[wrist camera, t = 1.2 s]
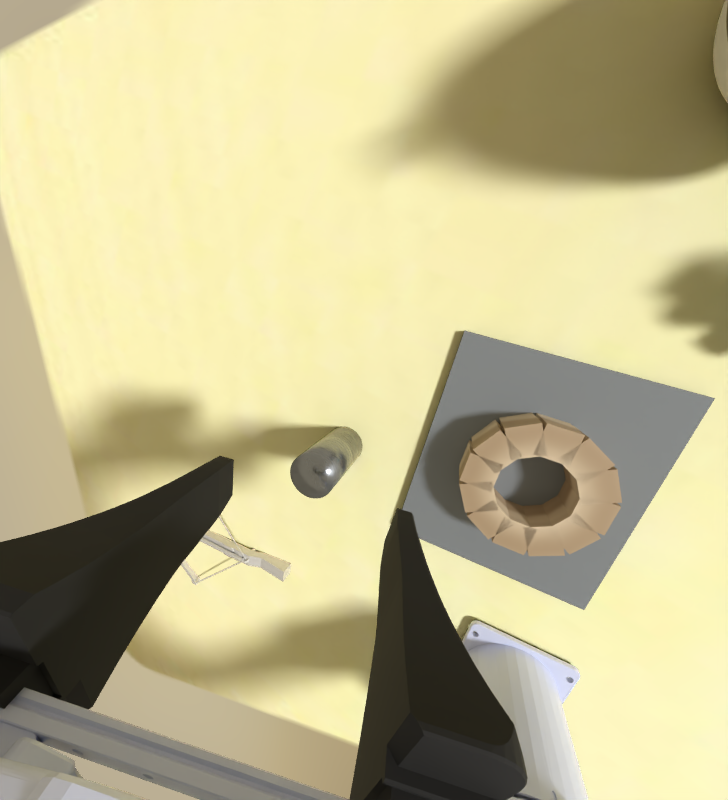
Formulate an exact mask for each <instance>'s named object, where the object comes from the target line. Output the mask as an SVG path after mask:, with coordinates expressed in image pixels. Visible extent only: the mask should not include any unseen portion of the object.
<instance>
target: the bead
mask: <svg viewBox="0 0 728 800" xmlns="http://www.w3.org/2000/svg"><path fill="white" fill-rule="evenodd" d="M499 420H500V424H499V423H498V422H497V421H496V420H494V421H492V422H491V423H490V424H488V425H487V426H486V427H484V428H483V429H482V430H480V431H479V432H478V433H476V434H475V435H474V436H472V437H471V438H472V441H470V440H469V442H468V444H467V447H466V449H465V452H464V454H463V457H462V459H461V462H460V464H459V486H460V490H461V495H462V500H463V504H464V509H465V513H467V517H468V518H469V519H470V520H471V521H472V522H473V523H474V524H475V525H476V526H477V528H478V529H479V530H480V531H481V532H482V533H483V534H484V535H485V536H486V537H487V539H490V538H491V539H492V542H493V543H495V544H498V545H500V546H503V547H505V548H507V549H510V550H512V551H515V552H517V553H520V554H522V555H524V554H525V553H526V551H527V552H528V556H565V553H564V549H565V550H566V551H567V552H568V553H569V554H572V553H574V552H576V551H578V550H580V549H582V548H584V547H585V546H587V545H589V544H591V543H593V542H595V541H597V540H599V539H601V538H600V536H599V535H598V533H599V534H602V535H605V534H606V532H607V530H608V529H609V527H610V525H611V524H612V522H613V520H614V518H615V517H616V515H617V513H618V512H619V510H620V508H621V506H620V505H619V504H618V503H622V498H621V491H620V484H619V477H618V469H616V468H615V467H614V466H615V464H614V463H613V462H612V461H611V460H610V459H609V458H608V457H607V456H606V455H605V454H604V453H603V452H602V451H601V450H600V448H599V447H598V446H597V445H596V444H595V443H594V442H593V441H592V440H591V439H590V438H589V437H588V436H586V435H585V434H584V433H582V432H581V431H580V430H579V429H577V428H576V427H575V426H573V425H571V424H570V423H567V422H564V421H561V420H558V419H555V418H551V417H548V416H545V415H542V414H539V413H536V416H535V415H534V414H533V413H526V414H520V415H513V416H507V417H501V418H499ZM531 457H543V458H546V459H549V460H552V461H555V462H558V463H560V464H562V465H563V467H564V473H565V479H566V480H565V482H564V484H563V486H562V488H561V490H560V492H559V494H558V495H557V496H556V497H554V498H552V499H550V500H549V501H547V502H545V503H544V504H542V505H529V506H521V505H518V504H516V503H513V502H511V501H508V500H505V499H504V498H503V497H502V496H501V495H500V494H499V493H498V491H497V490H496V489H495V488H494V485H495V482H496V480H497V478H498V475H499V473H500V471H501V470H502V469H504V468H505V467H507V466H508V465H509V464H511V463H512V462H514V461H515V460H517V459H522V458H531Z"/></svg>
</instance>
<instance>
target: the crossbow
mask: <svg viewBox="0 0 728 800" xmlns="http://www.w3.org/2000/svg"><path fill="white" fill-rule="evenodd" d="M219 518H220V520H221V521H222V519H221V517H220V516H219ZM222 523H223V525H224V526H225V528H226V529H227V527H226V525H225V524H224V522H223V521H222ZM227 531H228V533H229V534H230V532H229V530H228V529H227ZM230 536H231V538H232V539H233V541H232V540H230V539H228V538H226V537H224V536H222V535H220V534H217V533H215V532H212V531H210V530H208V531H207V532H206V534H205V535H204V536H203V537H202V539H201V540H200V541H201V542H203V543H205V544H207V545H209V546H211V547H213V548H215V549H217V550H219V551H221V552H223V553H224V554H225V555H227V556H229V557H231V558H232V557H233V558H235V560H237V561H240V562H238V563H236V564H234V565H232V566H235V565H237V564H239V563H241V562H243V563H245V564H247V565H249V566H255V567H261V568H262V569H264V570H265V571H267V572H269V573H270V574H272V575H273V576H275V577H277V578H278V579H280V580H281V581H284V579H285V578H286V577H287V576H288V575H289V573H290V569H291V563H289V562H286V561H284V560H282V559H279V558H277V557H274V556H272V555H269V554H267V553H263V552H257V551H256V549H254V548H253V549H249V548H247V547H245V546H243V545H240V544H238V543H236V542H235V540H234V538H233V537H232V535H231V534H230ZM181 565H182V567H183V568H184V569H185V571H186V572H187V574H188V575H189V576H190V578H191V579H192V583H193V584H195V585H196V584H198V583H199V582H200V581H202V580H204V579H207V578H209V577H211V576H213V575H215V574H217V573H219V572H222V571H224V570H226V569H228V568H230V567H232V566H230V567H228V568H225V569H223V570H221V571H219V572H217V573H215V574H213V575H211V576H208V577H206V578H204V579H202V580H200V578H199V577H198V575H197V574H196V573H195V572H194V570H193V569H192V568H191V567H190V565H189V564H188V563H187V561H186V560H184V561H183V562H182V564H181Z"/></svg>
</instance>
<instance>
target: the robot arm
mask: <svg viewBox="0 0 728 800" xmlns="http://www.w3.org/2000/svg"><path fill="white" fill-rule="evenodd" d="M233 462H234V460H233V459H229V458H226V457H222V456H219V457H217V458H215V459H213V460H211V461H209V462H208V463H206V464H204V465H202V466H200V467H198V468H197V469H195V470H193V471H191V472H189V473H187V474H186V475H184V476H182V477H180V478H178V479H176V480H174V481H172V482H170V483H168V484H166V485H164V486H162V487H160V488H158V489H156V490H154V491H152V492H150V493H148V494H146V495H143V496H141V497H139V498H137V499H134V500H132V501H130V502H127V503H125V504H122V505H120V506H117V507H115V508H112V509H110V510H107V511H104V512H102V513H99V514H96V515H93V516H90V517H87V518H84V519H82V520H78V521H75V522H73V523H70V524H66V525H63V526H60V527H57V528H53V529H50V530H46V531H42V532H39V533H35V534H32V535H28V536H24V537H20V538H16V539H12V540H8V541H4V542H0V800H148V799H145V798H142V797H139V796H137V795H134V794H131V793H128V792H125V791H122V790H119V789H116V788H113V787H109V786H107V785H103V784H100V783H96V782H93V781H89V780H86V779H84V778H83V777H82V776H81V775H80V774H79V772H78V771H77V769H76V768H75V761H74V760H73V759H71V758H69V757H67V756H65V755H63V754H61V753H59V752H58V751H56V750H53V749H52V748H50V747H53V748H56V749H59V750H61V751H64V752H67V753H70V754H73V755H76V756H78V757H81V758H84V759H87V760H90V761H93V762H95V763H98V764H101V765H104V766H107V767H110V768H113V769H115V770H118V771H121V772H124V773H127V774H129V775H132V776H135V777H138V778H141V779H143V780H146V781H149V782H152V783H155V784H158V785H160V786H163V787H166V788H169V789H172V790H175V791H177V792H180V793H183V794H186V795H189V796H191V797H194V798H197V799H200V800H349V799H346V798H343V797H340V796H337V795H335V794H331V793H329V792H326V791H323V790H320V789H317V788H314V787H311V786H309V785H306V784H303V783H299V782H297V781H294V780H291V779H288V778H285V777H282V776H280V775H277V774H274V773H271V772H268V771H265V770H262V769H259V768H256V767H253V766H251V765H248V764H245V763H242V762H239V761H236V760H233V759H230V758H227V757H224V756H221V755H219V754H216V753H213V752H210V751H207V750H204V749H201V748H198V747H195V746H193V745H190V744H187V743H184V742H181V741H178V740H175V739H172V738H169V737H167V736H164V735H161V734H158V733H155V732H152V731H149V730H146V729H143V728H141V727H138V726H135V725H132V724H129V723H126V722H123V721H120V720H117V719H114V718H112V717H108V716H106V715H103V714H100V713H97V712H94V711H91V710H88V709H90V708H91V707H93V705H94V703H95V701H96V700H97V698H98V696H99V694H100V692H101V691H102V689H103V687H104V686H105V684H106V682H107V680H108V679H109V677H110V675H111V673H112V672H113V670H114V668H115V666H116V665H117V663H118V661H119V659H120V658H121V656H122V655H123V653H124V651H125V650H126V648H127V646H128V645H129V643H130V641H131V640H132V638H133V636H134V635H135V633H136V632H137V630H138V628H139V627H140V625H141V623H142V622H143V620H144V619H145V617H146V616H147V614H148V612H149V611H150V609H151V608H152V606H153V605H154V603H155V601H156V600H157V598H158V597H159V595H160V594H161V592H162V591H163V589H164V588H165V586H166V585H167V583H168V582H169V580H170V579H171V577H172V576H173V574H174V573H175V572H176V570H177V569H178V568H179V566H180V565H181V564H182V562H183V561H184V560H185V559H186V557H187V556H188V555H189V554H190V552H191V551H192V550H193V549H194V547H195V546H196V545H197V544H198V542H199V541H200V540H201V539H202V537H203V536H204V535H205V534H206V532H207V531H208V530H209V529H210V527H211V526H212V525H213V524H214V522H215V521H216V520H217V518H218V517H219V516H220V514H221V513H222V511H223V509H224V508H225V506H226V505H227V503H228V501H229V500H230V498H231V496H232V491H233ZM473 631H476V632H473ZM579 679H580V673H579V671H578V669H577V668H576V667H575V666H573V665H571V664H569V663H567V662H564V661H562V660H560V659H558V658H556V657H554V656H552V655H550V654H548V653H545V652H543V651H541V650H539V649H537V648H535V647H533V646H531V645H529V644H527V643H524V642H522V641H520V640H518V639H516V638H514V637H512V636H510V635H508V634H505V633H503V632H501V631H499V630H497V629H495V628H493V627H491V626H489V625H487V624H484V623H482V622H480V621H477V620H474V621H472V622H471V624H470V626H469V628H468V630H467V632H466V634H465V636H464V638H463V640H462V641H461V639H460V637H459V635H458V633H457V632H456V630H455V628H454V626H453V624H452V622H451V620H450V618H449V616H448V613H447V611H446V609H445V607H444V605H443V603H442V600H441V598H440V596H439V594H438V591H437V589H436V586H435V584H434V581H433V579H432V576H431V574H430V571H429V568H428V565H427V562H426V559H425V556H424V553H423V550H422V547H421V544H420V540H419V537H418V533H417V529H416V525H415V521H414V516H413V514H412V512H408V511H405V510H401V509H398V508H397V510H396V513H395V516H394V518H393V521H392V523H391V526H390V529H389V531H388V534H387V536H386V539H385V543H384V549H383V554H382V561H381V568H380V583H379V599H378V615H377V629H376V639H375V646H374V653H373V660H372V667H371V674H370V680H369V687H368V693H367V700H366V706H365V712H364V718H363V724H362V731H361V737H360V743H359V748H358V755H357V760H356V766H355V772H354V777H353V783H352V789H351V794H350V800H589V799H588V795H587V792H586V788H585V784H584V781H583V777H582V774H581V770H580V767H579V763H578V760H577V756H576V753H575V749H574V745H573V742H572V738H571V735H570V731H569V728H568V724H567V721H566V717H565V713H564V710H563V706H562V704H563V703H564V701H565V700H566V698H567V697H568V695H569V694H570V692H571V691H572V689H573V688H574V686H575V685H576V683H577V682H578V680H579ZM46 745H47V746H46ZM48 746H50V747H48Z"/></svg>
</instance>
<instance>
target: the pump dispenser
mask: <svg viewBox="0 0 728 800" xmlns="http://www.w3.org/2000/svg"><path fill="white" fill-rule="evenodd" d="M713 66H714V74H715V78H716V82H717V85H718V88H719V90H720V92H721V94H722V96H723V97H724V99H725V100H726V102H727V103H728V0H725V2H724V4H723V7H722V11H721V14H720V17H719V21H718V24H717V29H716V34H715V39H714V48H713Z"/></svg>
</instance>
